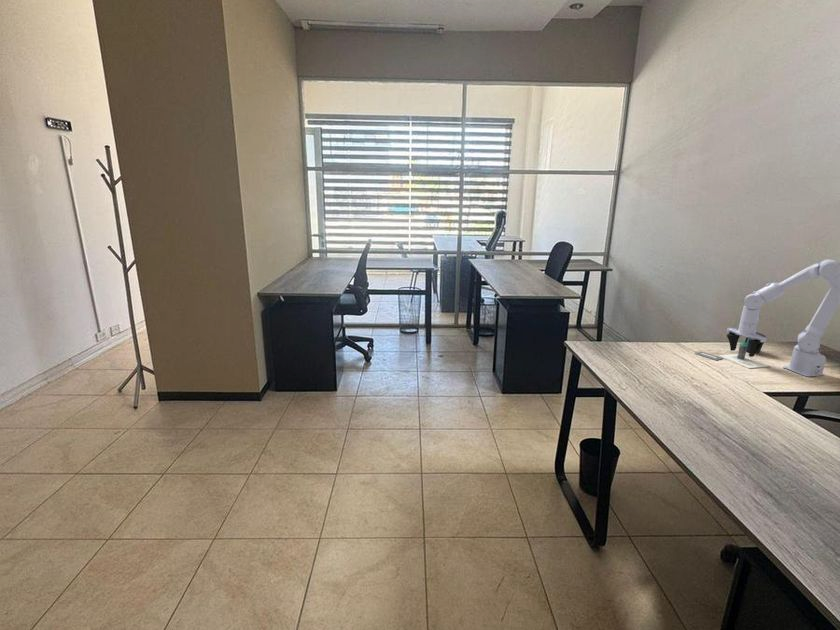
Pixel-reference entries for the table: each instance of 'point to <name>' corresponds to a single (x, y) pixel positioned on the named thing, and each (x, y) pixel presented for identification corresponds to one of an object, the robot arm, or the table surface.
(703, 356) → the plate
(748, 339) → the speaker
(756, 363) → the paper
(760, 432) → the table surface
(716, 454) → the table surface
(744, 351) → the marker
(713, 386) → the table surface
